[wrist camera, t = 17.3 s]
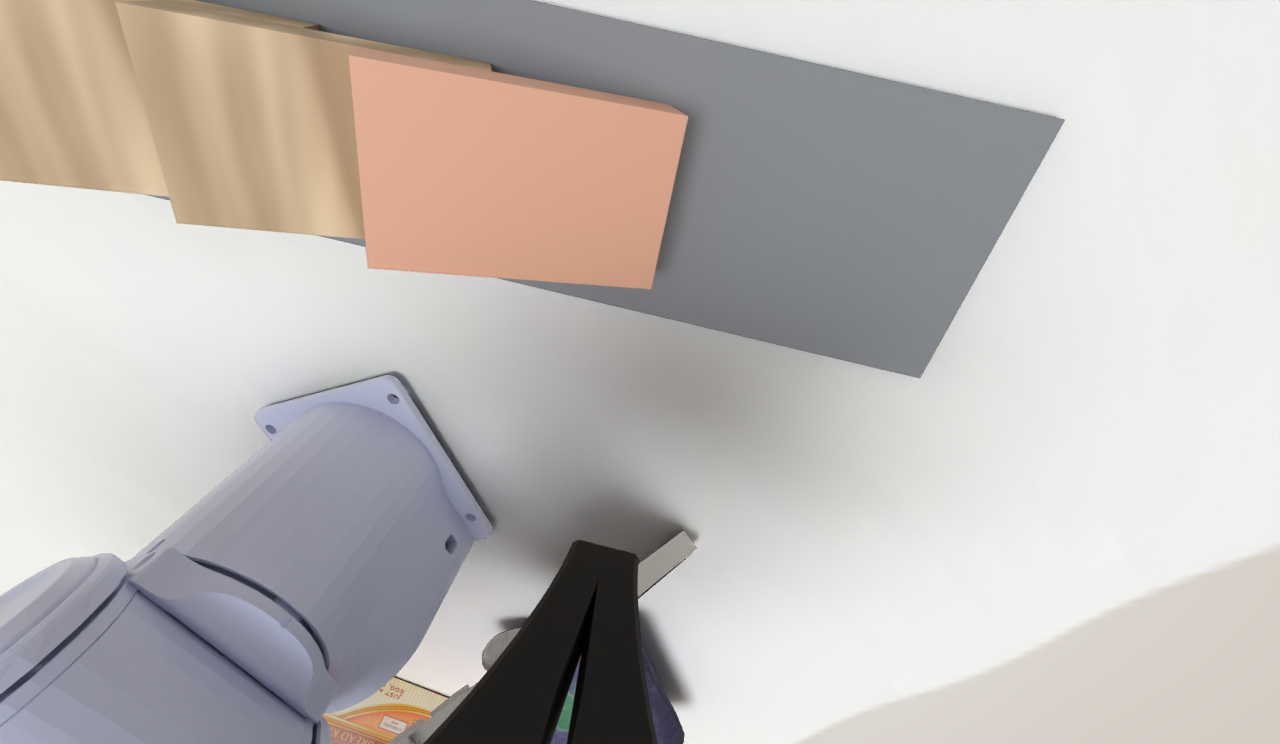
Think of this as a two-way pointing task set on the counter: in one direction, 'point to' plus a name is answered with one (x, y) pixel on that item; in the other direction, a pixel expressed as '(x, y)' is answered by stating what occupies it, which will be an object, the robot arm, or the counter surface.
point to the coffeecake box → (383, 714)
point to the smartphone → (648, 576)
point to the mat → (764, 173)
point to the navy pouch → (661, 708)
